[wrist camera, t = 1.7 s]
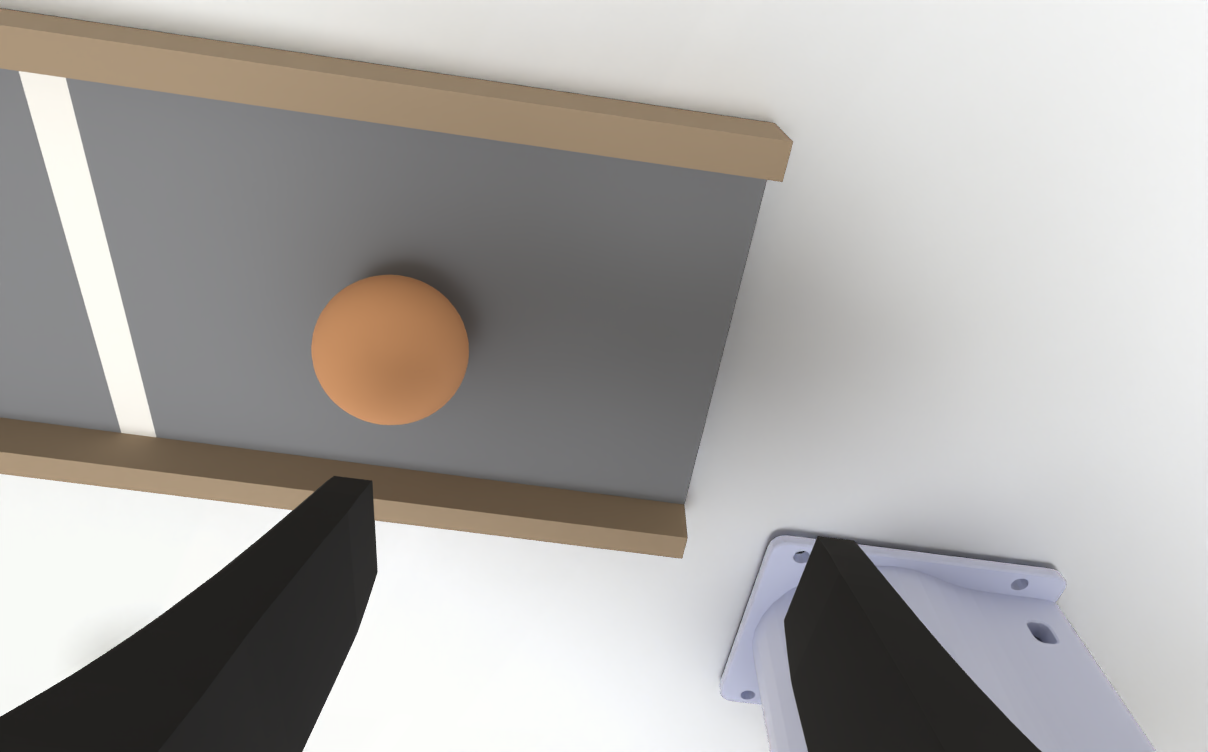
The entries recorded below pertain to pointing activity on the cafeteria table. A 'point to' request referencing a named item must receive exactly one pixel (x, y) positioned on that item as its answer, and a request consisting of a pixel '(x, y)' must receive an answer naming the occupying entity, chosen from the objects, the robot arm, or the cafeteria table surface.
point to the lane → (351, 253)
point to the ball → (390, 349)
